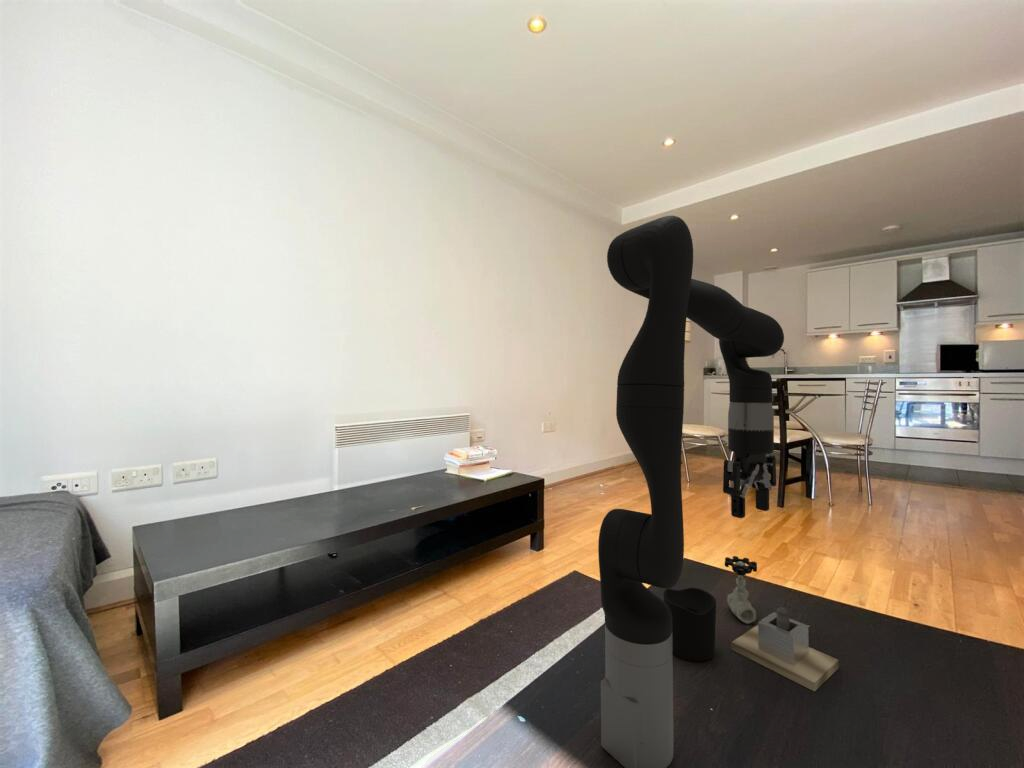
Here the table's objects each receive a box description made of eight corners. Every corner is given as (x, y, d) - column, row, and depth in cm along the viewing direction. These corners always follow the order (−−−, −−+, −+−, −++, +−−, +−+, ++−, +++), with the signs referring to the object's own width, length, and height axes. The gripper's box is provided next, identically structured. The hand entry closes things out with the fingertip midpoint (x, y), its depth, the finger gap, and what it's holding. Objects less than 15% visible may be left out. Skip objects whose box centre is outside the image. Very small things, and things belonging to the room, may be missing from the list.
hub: (793, 665, 77) (793, 637, 77) (758, 648, 82) (758, 622, 82) (808, 652, 81) (808, 625, 81) (773, 637, 86) (773, 611, 86)
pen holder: (709, 671, 79) (709, 615, 78) (657, 652, 84) (656, 600, 84) (721, 645, 86) (721, 594, 86) (672, 629, 92) (672, 581, 92)
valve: (750, 609, 99) (749, 556, 99) (764, 625, 92) (763, 568, 92) (719, 608, 100) (719, 555, 100) (731, 624, 93) (730, 568, 93)
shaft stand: (814, 691, 73) (814, 634, 73) (731, 649, 85) (731, 600, 84) (838, 668, 79) (838, 615, 79) (757, 631, 90) (757, 585, 90)
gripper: (750, 430, 75) (750, 525, 75) (790, 426, 83) (790, 512, 83) (709, 427, 82) (709, 514, 82) (750, 423, 90) (750, 503, 90)
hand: (750, 513), depth 82 cm, fingers open, 8 cm apart
